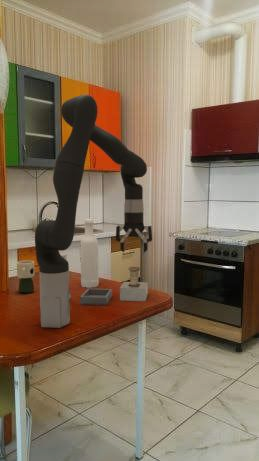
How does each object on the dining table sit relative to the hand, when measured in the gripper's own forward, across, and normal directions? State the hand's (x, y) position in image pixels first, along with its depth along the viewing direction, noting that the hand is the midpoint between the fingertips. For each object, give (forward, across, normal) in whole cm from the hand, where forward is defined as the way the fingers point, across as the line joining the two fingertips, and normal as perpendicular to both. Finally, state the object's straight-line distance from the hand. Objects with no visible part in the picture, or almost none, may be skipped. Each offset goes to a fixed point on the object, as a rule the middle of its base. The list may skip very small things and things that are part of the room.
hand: (134, 251), depth 148 cm
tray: (+18, -14, -6) cm, 24 cm away
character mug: (+18, -46, +2) cm, 50 cm away
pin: (+18, 0, 0) cm, 18 cm away
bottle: (+19, -22, +16) cm, 33 cm away
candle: (+19, -34, +10) cm, 40 cm away
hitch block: (+18, 0, 0) cm, 18 cm away
